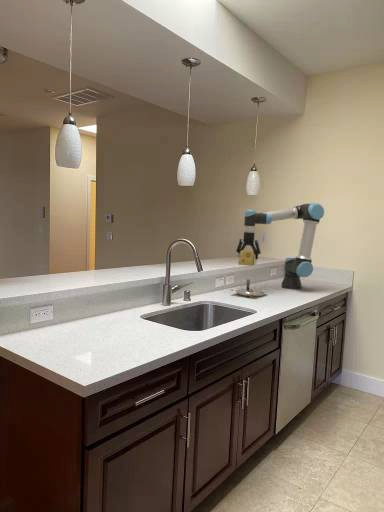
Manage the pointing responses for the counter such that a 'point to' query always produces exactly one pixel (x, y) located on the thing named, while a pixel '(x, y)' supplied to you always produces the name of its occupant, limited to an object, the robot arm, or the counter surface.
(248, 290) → the metal dish with post
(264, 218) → the robot arm
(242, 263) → the cheese
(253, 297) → the base plate
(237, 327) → the counter surface
